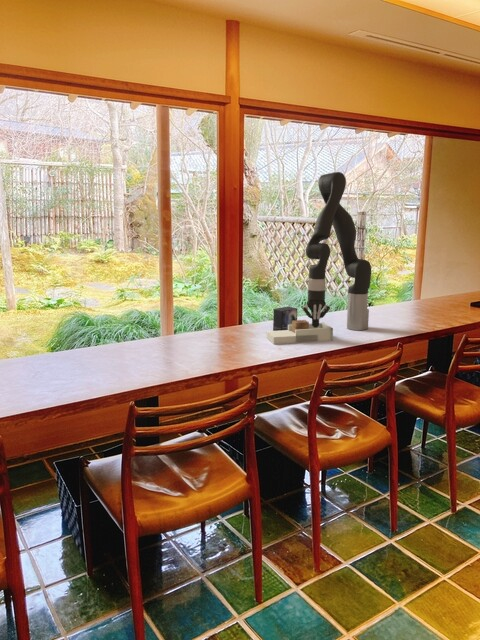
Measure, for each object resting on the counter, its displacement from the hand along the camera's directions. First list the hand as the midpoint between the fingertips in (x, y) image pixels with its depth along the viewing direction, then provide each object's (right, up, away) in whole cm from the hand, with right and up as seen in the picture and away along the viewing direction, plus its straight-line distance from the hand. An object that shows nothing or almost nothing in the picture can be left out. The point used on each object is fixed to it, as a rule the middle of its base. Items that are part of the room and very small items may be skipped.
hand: (315, 327), depth 239 cm
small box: (-12, -2, +17) cm, 21 cm away
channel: (-7, -5, -1) cm, 9 cm away
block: (-7, -2, -1) cm, 7 cm away
